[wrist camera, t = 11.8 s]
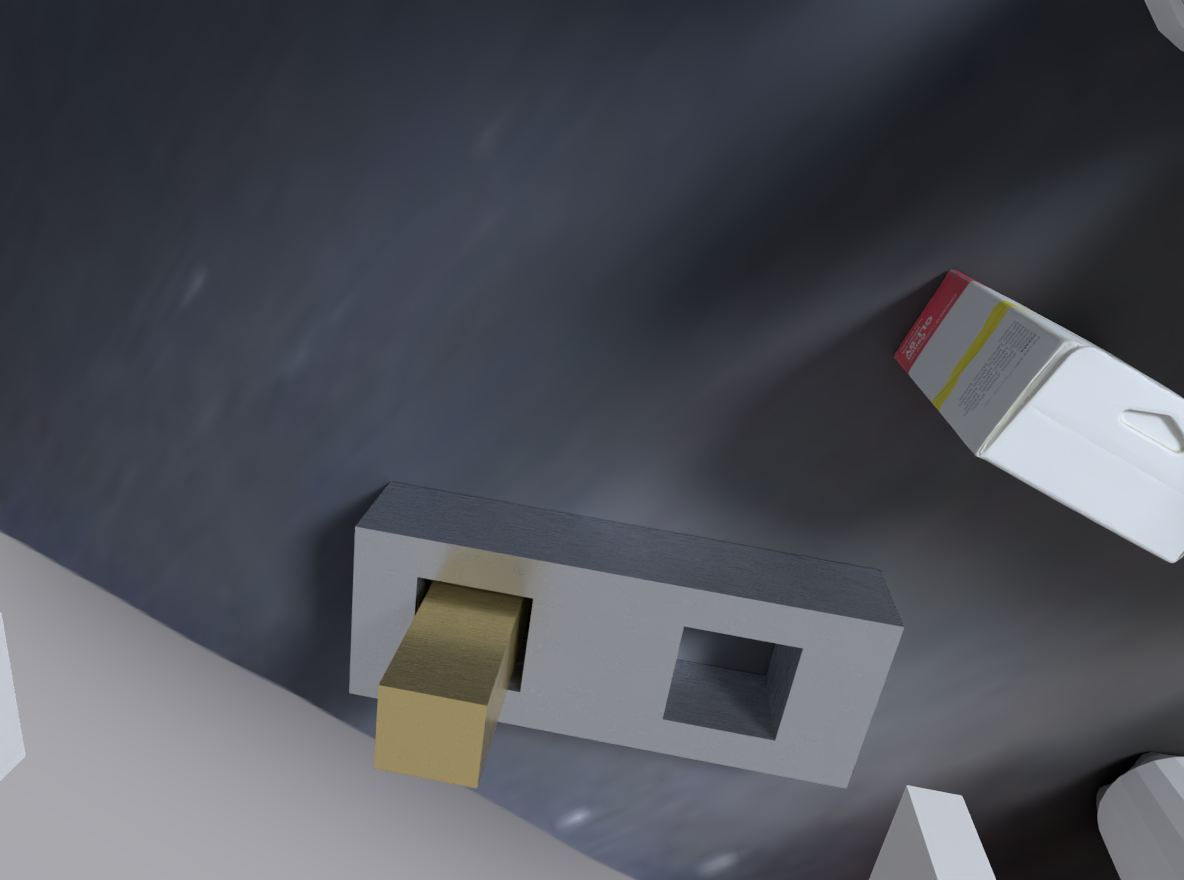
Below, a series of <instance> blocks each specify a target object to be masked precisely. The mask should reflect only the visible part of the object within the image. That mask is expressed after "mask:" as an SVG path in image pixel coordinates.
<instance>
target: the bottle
mask: <svg viewBox="0 0 1184 880" xmlns="http://www.w3.org/2000/svg"><path fill="white" fill-rule="evenodd" d="M1145 3H1146V5H1147V7H1148V9H1149V12H1150V14H1151V16H1152V18H1153V20H1154V22H1155V24H1156V26H1157V28H1158V30H1159V31H1160V32H1161V33H1162V34H1163V35H1164V36H1165V37H1166V38H1167V39H1169V40H1170V41H1171V42H1172V43H1173V44H1174V45H1175V46H1176V47H1178V48H1179V49H1180V50H1181V51H1183V52H1184V4H1183V3H1184V0H1183V2H1182V0H1145Z"/></svg>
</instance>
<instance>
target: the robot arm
mask: <svg viewBox="0 0 1184 880" xmlns="http://www.w3.org/2000/svg"><path fill="white" fill-rule="evenodd" d="M25 756H26V755H25V749H24V743H23V737H22V731H21V725H20V720H19V714H18V708H17V702H16V696H15V690H14V684H13V678H12V672H11V666H10V660H9V654H8V648H7V642H6V636H5V630H4V624H3V618H2V612H0V781H1V780H2V779H3V778H4V777H5V776H6V775H7V774H8V773H9V772H10V771H11V770H12V769H13V768H14V767H15V766H16V765H17V764H18V763H19V762H20V761H21V760H22V759H24V757H25ZM869 880H996V878H995V876H994V873H993V871H992V868H991V866H990V863H989V861H988V859H987V856H986V854H985V851H984V849H983V846H982V844H981V841H980V839H979V836H978V834H977V831H976V829H975V826H974V824H973V821H972V819H971V817H970V814H969V812H968V809H967V807H966V804H965V802H964V799H963V797H962V796H960V795H955V794H950V793H945V792H940V791H934V790H929V789H924V788H919V787H913V786H908V785H907V786H906V788H905V791H904V793H903V796H902V798H901V801H900V803H899V806H898V808H897V811H896V813H895V816H894V818H893V821H892V823H891V826H890V828H889V831H888V833H887V836H886V838H885V841H884V843H883V846H882V848H881V851H880V853H879V856H878V858H877V861H876V863H875V866H874V868H873V871H872V874H871V876H870V879H869Z"/></svg>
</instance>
